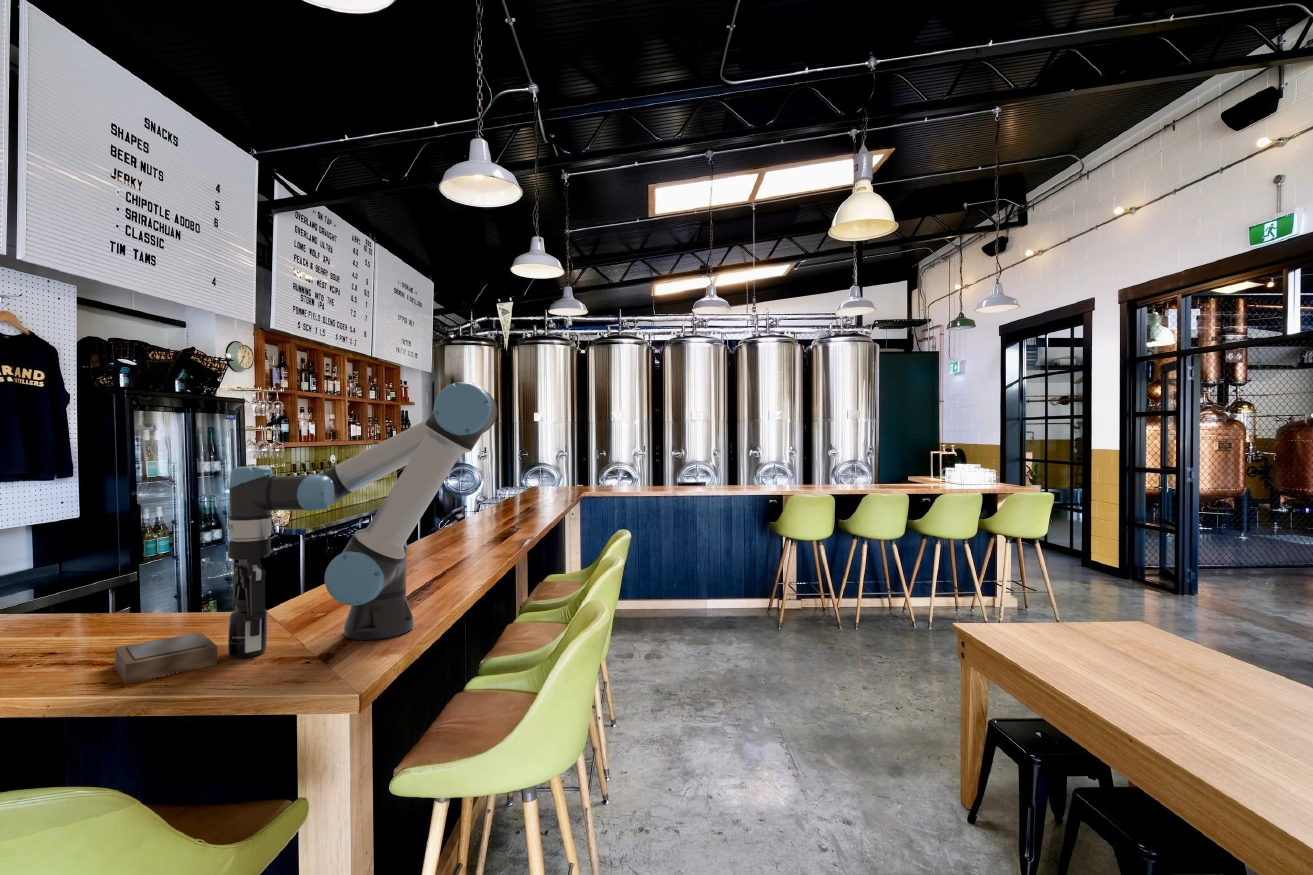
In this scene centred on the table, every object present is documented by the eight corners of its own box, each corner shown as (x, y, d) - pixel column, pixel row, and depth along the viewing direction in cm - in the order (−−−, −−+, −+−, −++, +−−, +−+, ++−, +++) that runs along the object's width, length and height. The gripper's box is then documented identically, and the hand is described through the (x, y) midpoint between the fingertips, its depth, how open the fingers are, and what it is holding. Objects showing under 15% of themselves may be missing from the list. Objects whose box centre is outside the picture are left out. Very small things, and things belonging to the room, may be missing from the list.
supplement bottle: (229, 661, 123) (231, 603, 123) (226, 653, 128) (227, 596, 128) (269, 654, 127) (270, 597, 128) (264, 646, 132) (265, 592, 133)
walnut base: (200, 649, 130) (201, 630, 131) (217, 664, 121) (217, 644, 121) (114, 666, 120) (115, 646, 120) (125, 684, 111) (125, 662, 111)
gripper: (217, 535, 132) (214, 640, 131) (242, 545, 119) (239, 662, 118) (256, 532, 137) (254, 633, 137) (284, 541, 124) (282, 653, 124)
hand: (247, 646), depth 128 cm, fingers closed on supplement bottle, 7 cm apart
